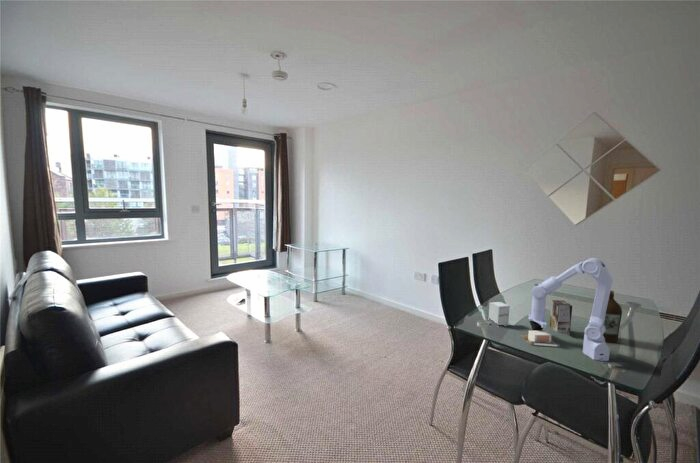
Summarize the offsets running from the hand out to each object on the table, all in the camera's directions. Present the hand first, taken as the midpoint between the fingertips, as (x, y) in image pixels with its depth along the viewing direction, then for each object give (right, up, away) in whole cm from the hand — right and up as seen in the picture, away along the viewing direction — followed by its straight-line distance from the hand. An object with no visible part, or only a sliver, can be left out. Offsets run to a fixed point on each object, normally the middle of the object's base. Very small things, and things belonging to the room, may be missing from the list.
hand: (536, 336), depth 151 cm
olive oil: (+37, -3, +3) cm, 37 cm away
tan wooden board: (0, -2, -3) cm, 4 cm away
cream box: (-1, -1, -5) cm, 5 cm away
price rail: (-1, -1, -9) cm, 9 cm away
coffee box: (+19, -2, +11) cm, 22 cm away
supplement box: (-10, -1, +18) cm, 21 cm away
